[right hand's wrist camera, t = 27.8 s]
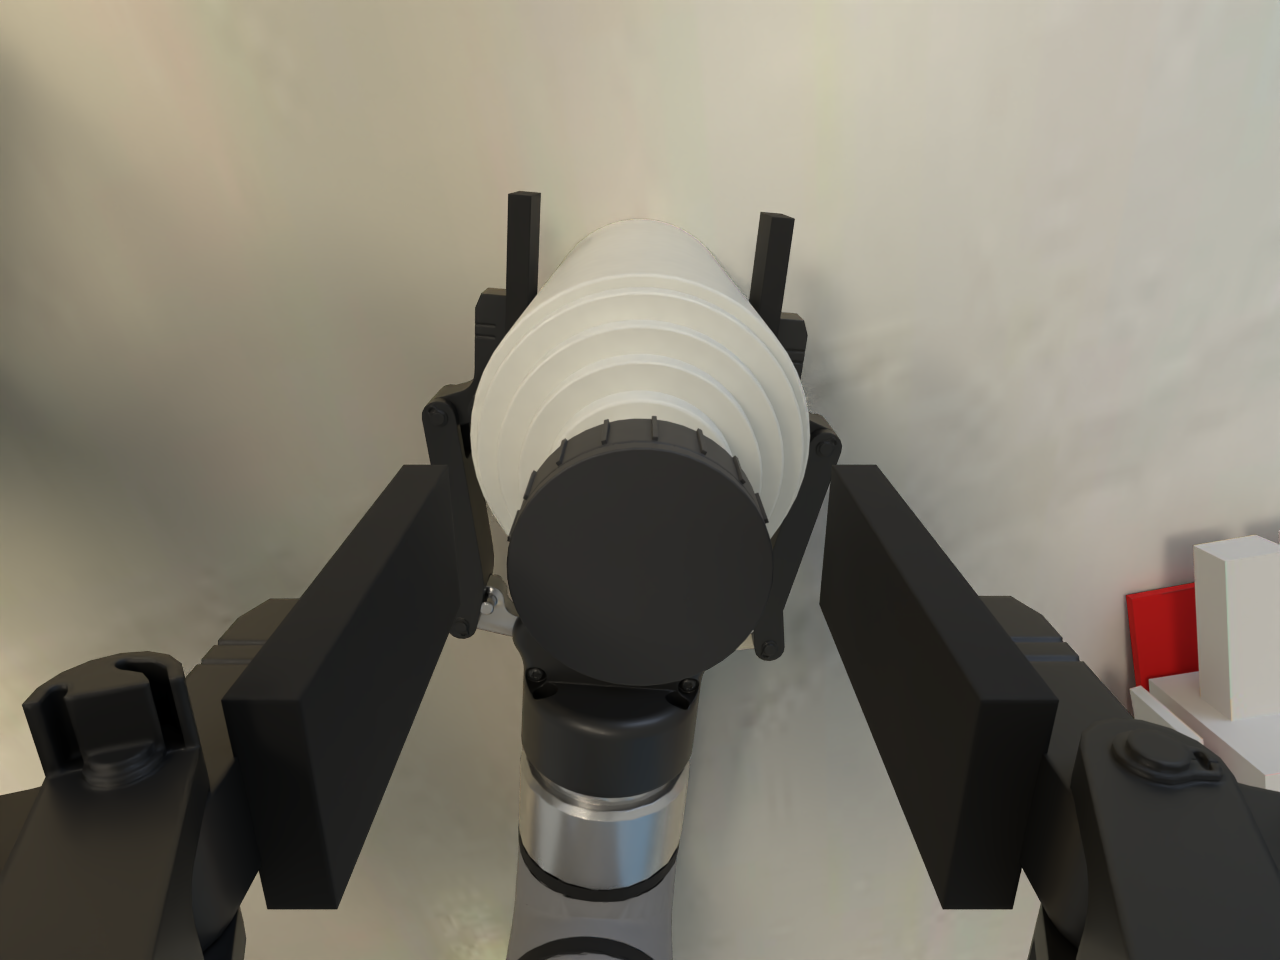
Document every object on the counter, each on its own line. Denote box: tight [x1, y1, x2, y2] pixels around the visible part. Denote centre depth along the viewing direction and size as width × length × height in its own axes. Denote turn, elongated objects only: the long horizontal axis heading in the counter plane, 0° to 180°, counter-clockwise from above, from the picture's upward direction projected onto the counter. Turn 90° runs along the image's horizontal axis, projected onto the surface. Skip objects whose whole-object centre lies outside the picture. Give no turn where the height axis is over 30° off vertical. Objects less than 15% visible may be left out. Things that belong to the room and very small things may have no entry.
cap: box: [507, 416, 774, 686], centre depth 14 cm, size 4×4×2 cm
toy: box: [1126, 530, 1280, 792], centre depth 39 cm, size 12×13×30 cm
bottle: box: [470, 219, 810, 539], centre depth 25 cm, size 8×8×23 cm
